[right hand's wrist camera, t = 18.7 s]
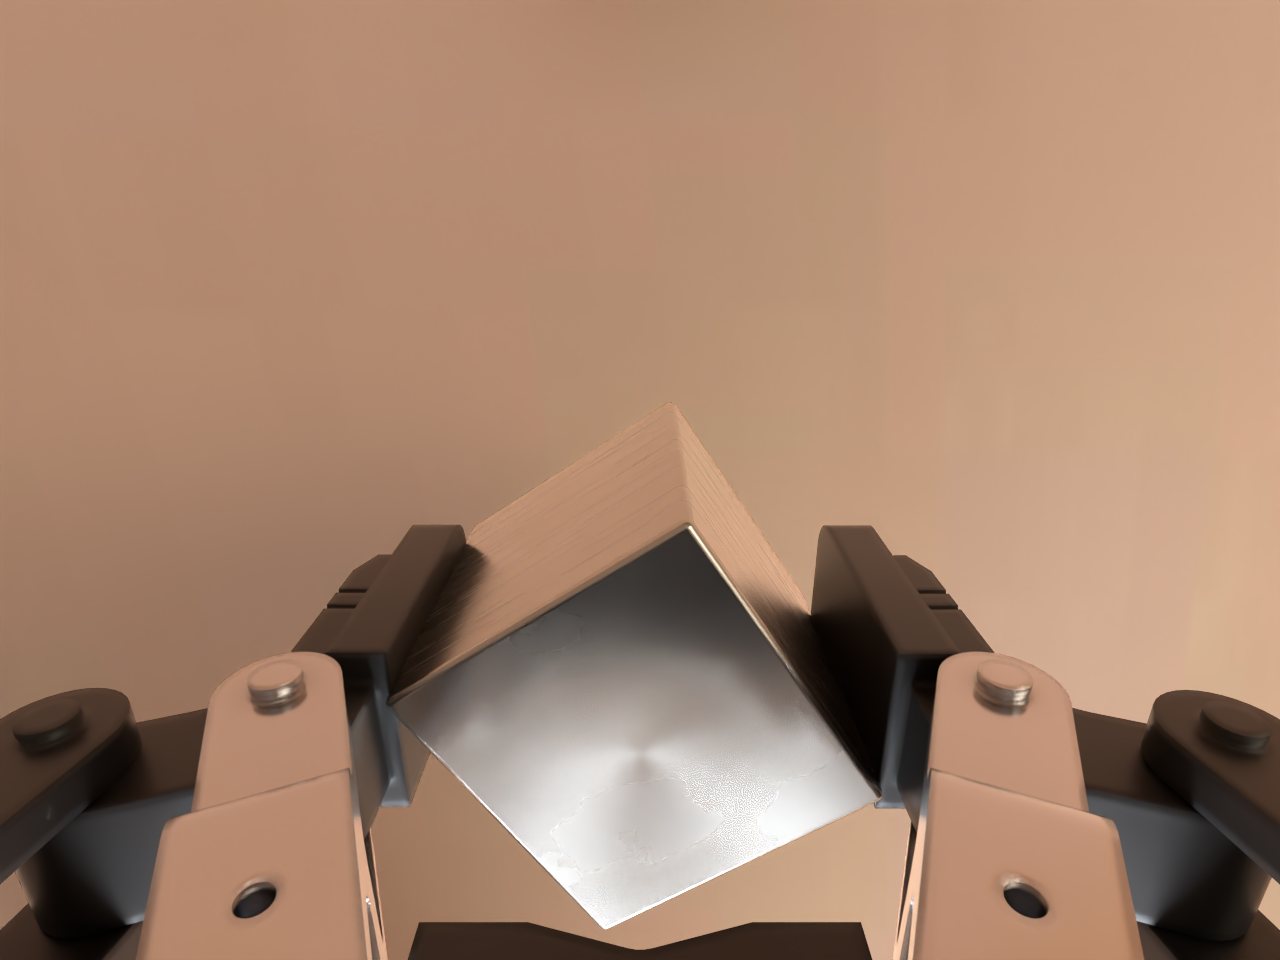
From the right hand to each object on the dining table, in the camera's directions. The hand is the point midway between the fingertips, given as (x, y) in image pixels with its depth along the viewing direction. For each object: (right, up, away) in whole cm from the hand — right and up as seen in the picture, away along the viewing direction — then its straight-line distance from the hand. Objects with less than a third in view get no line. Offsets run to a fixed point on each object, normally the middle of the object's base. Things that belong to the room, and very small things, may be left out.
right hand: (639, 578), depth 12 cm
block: (0, 0, +1) cm, 1 cm away
